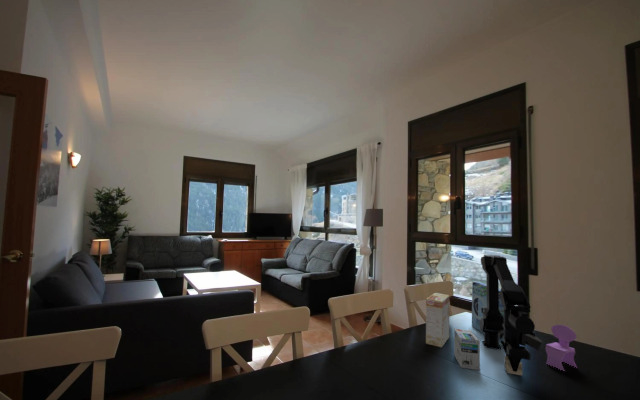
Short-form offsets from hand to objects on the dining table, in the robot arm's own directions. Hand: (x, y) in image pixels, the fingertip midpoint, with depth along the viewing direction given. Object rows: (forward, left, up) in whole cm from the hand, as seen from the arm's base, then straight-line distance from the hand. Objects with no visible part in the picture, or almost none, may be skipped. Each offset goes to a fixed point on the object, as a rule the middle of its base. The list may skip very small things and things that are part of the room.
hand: (513, 368), depth 106 cm
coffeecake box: (-20, -25, -2) cm, 32 cm away
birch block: (0, 0, -1) cm, 1 cm away
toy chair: (-15, +19, -2) cm, 24 cm away
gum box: (-40, -2, -2) cm, 40 cm away
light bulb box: (-2, -15, -2) cm, 15 cm away
